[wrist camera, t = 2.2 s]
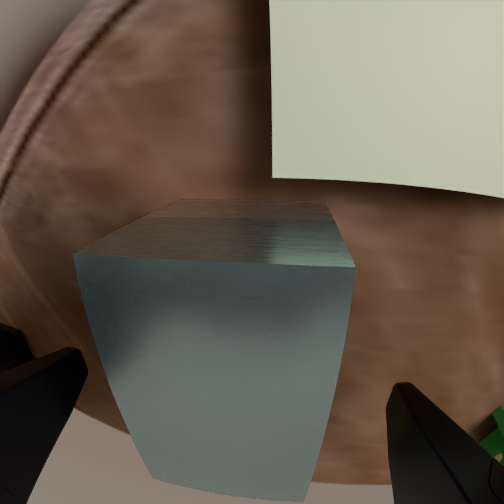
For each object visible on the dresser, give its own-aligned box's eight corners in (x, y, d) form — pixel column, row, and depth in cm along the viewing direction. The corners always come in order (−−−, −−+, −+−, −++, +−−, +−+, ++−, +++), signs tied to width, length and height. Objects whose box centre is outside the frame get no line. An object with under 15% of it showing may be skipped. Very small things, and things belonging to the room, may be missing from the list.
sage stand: (280, 169, 10) (272, 177, 7) (275, -33, 7) (265, -80, 4) (521, 194, 8) (568, 211, 5) (507, 16, 6) (545, -3, 3)
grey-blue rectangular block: (199, 374, 13) (152, 478, 8) (181, 198, 11) (72, 253, 5) (308, 383, 13) (303, 501, 7) (324, 200, 10) (355, 266, 4)
